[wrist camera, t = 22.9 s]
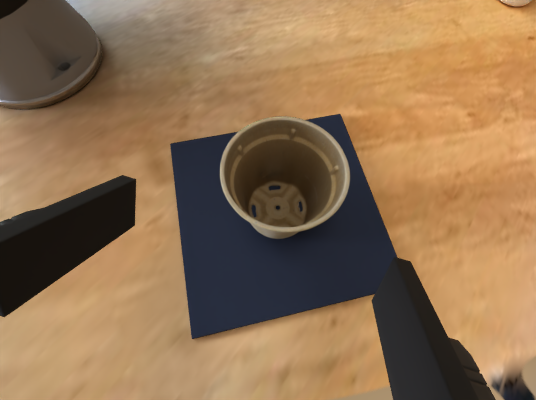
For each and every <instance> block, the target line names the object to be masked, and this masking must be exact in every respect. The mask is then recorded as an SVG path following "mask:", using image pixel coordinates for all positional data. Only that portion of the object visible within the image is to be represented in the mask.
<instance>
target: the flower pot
mask: <svg viewBox="0 0 536 400" xmlns="http://www.w3.org/2000/svg"><path fill="white" fill-rule="evenodd" d="M220 180H221V185H222V189H223V192H224V194H225V196H226V198H227V200H228V202H229V203H230V205H231V206H232V207H233V209H234V210H235V211H236V212H237V213H238V214H239V215H240V216H241V217H243V218H244V219H245V220H247V221H248V222H250V223H251V225H252V226H253V227H254V228H255V229H256V230H257V231H258V232H259V233H261V234H262V235H264V236H266V237H269V238H275V239H283V238H287V237H290V236H293V235H295V234H296V233H298V232H300V231H304V230H308V229H310V228H313V227H315V226H317V225H319V224H321V223H323V222H325V221H326V220H327V219H329V218H330V217H331V216H332V215H333V214H334V213H335V212H336V211H337V210H338V209H339V208H340V206H341V205H342V203H343V201H344V199H345V197H346V195H347V192H348V189H349V183H350V169H349V165H348V161H347V159H346V156H345V154H344V152H343V150H342V148H341V147H340V145H339V144H338V142H337V141H336V140H335V139H334V138H333V137H332V136H331V135H330V134H329V133H328V132H327V131H325V130H324V129H322V128H321V127H319V126H318V125H315V124H313V123H311V122H309V121H306V120H303V119H300V118H295V117H286V116H277V117H271V118H265V119H262V120H258V121H256V122H254V123H252V124H250V125H248V126H246V127H244V128H243V129H242V130H240V131H239V132H238V133H237V134H236V135H235V136H234V137H233V138H232V139H231V140H230V142H229V143H228V145H227V146H226V148H225V150H224V152H223V155H222V159H221V164H220ZM270 186H280V189H277V190H269V187H270ZM299 202H301V204H302V208H303V209H302V211H301V212H300V208H299V207H298V206H299ZM252 205H255V206H256V215H257V216H256V217H254V215H253V213H252ZM276 206H280V209H279V210H277V209H276Z"/></svg>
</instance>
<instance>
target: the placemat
mask: <svg viewBox="0 0 536 400" xmlns="http://www.w3.org/2000/svg"><path fill="white" fill-rule="evenodd" d="M306 121H309V122H311V123H313V124H315V125H318V126H319V127H321V128H322V129H324V130H325V131H327V132H328V133H329V134H330V135H331V136H332V137H333V138H334V139H335V140H336V141H337V142H338V144H339V145H340V147H341V148H342V150H343V152H344V154H345V156H346V159H347V161H348V165H349V169H350V183H349V189H348V192H347V195H346V197H345V199H344V201H343V203H342V205H341V206H340V208H339V209H338V210H337V211H336V212H335V213H334V214H333V215H332V216H331V217H330V218H329V219H327V220H326V221H325V222H323V223H321V224H319V225H317V226H315V227H313V228H310V229H308V230H304V231H300V232H298V233H296V234H295V235H293V236H290V237H287V238H283V239H275V238H269V237H266V236H264V235H262V234H261V233H259V232H258V231H257V230H256V229H255V228H254V227H253V226H252V225H251V223H250V222H248V221H247V220H245V219H244V218H243V217H241V216H240V215H239V214H238V213H237V212H236V211H235V210H234V209H233V207H232V206H231V205H230V203H229V202H228V200H227V198H226V196H225V194H224V192H223V189H222V185H221V180H220V164H221V159H222V155H223V152H224V150H225V148H226V146H227V145H228V143H229V142H230V140H231V139H232V138H233V137H234V136H235V135H236V134H237V133H238V132H234V133H228V134H223V135H217V136H211V137H206V138H200V139H194V140H188V141H183V142H177V143H171V144H170V145H171V154H172V163H173V172H174V181H175V190H176V199H177V208H178V217H179V226H180V235H181V245H182V254H183V263H184V272H185V281H186V290H187V299H188V308H189V317H190V326H191V335H192V339H194V338H198V337H202V336H207V335H211V334H215V333H219V332H223V331H227V330H231V329H235V328H239V327H243V326H247V325H251V324H255V323H259V322H263V321H267V320H271V319H275V318H279V317H283V316H287V315H291V314H295V313H299V312H303V311H307V310H311V309H315V308H320V307H324V306H328V305H332V304H336V303H340V302H344V301H348V300H352V299H356V298H360V297H364V296H368V295H372V294H375V293H376V291H377V289H378V287H379V285H380V283H381V281H382V280H383V278H384V276H385V274H386V272H387V270H388V268H389V266H390V264H391V262H392V260H393V258H394V257H396V258H397V255H396V253H395V250H394V248H393V245H392V243H391V240H390V238H389V235H388V233H387V230H386V228H385V225H384V223H383V220H382V218H381V215H380V213H379V210H378V208H377V205H376V203H375V200H374V197H373V195H372V192H371V190H370V187H369V185H368V182H367V180H366V177H365V175H364V172H363V170H362V167H361V165H360V162H359V160H358V157H357V155H356V152H355V150H354V147H353V145H352V142H351V140H350V137H349V134H348V132H347V129H346V127H345V124H344V122H343V119H342V117H341V114H337V115H331V116H325V117H320V118H314V119H308V120H306ZM277 189H280V186H270V187H269V190H277ZM298 207H299V208H300V212H301V211H302V209H303V208H302V204H301V202H299V206H298ZM276 209H277V210H279V209H280V206H276ZM252 213H253V215H254V217H256V216H257V215H256V206H255V205H252Z"/></svg>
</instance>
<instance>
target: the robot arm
mask: <svg viewBox="0 0 536 400" xmlns="http://www.w3.org/2000/svg"><path fill="white" fill-rule="evenodd" d="M101 60H102V46H101V43H100V40H99V39H98V37H97V35H96V34H95V32H94V30H93V29H92V27H91V26H90V25H89V24H88V22H87V21H86V20H85V19H84V18H83V17H82V16H81V15H80V14H79V13H78V12H77V11H76V10H75V9H74V8H73V7H72V6H71V5H70V4H68V3H67V2H66V1H65V0H0V106H3V107H7V108H13V109H31V108H38V107H43V106H47V105H50V104H53V103H56V102H59V101H61V100H63V99H65V98H67V97H69V96H71V95H72V94H74V93H76V92H77V91H79V90H80V89H81V88H82V87H84V86H85V85H86V84H87V83H88V82H89V81H90V80H91V79H92V77H93V76H94V75H95V73H96V72H97V70H98V68H99V66H100V63H101ZM135 200H136V179H133V178H130V177H127V176H123V175H122V176H119V177H117V178H114V179H112V180H110V181H107V182H105V183H102V184H100V185H98V186H95V187H93V188H90V189H88V190H86V191H83V192H81V193H78V194H76V195H73V196H71V197H69V198H66V199H64V200H61V201H59V202H57V203H54V204H52V205H49V206H47V207H45V208H41V209H36V210H32V211H27V212H24V213H22V214H19V215H17V216H14V217H12V218H11V219H7V220H4V221H2V222H0V316H2V317H6V316H7V315H8V314H10V313H11V312H13V311H14V310H15V309H17V308H18V307H20V306H21V305H23V304H24V303H25V302H27V301H28V300H30V299H31V298H33V297H34V296H35V295H37V294H38V293H40V292H41V291H42V290H44V289H45V288H47V287H48V286H50V285H51V284H52V283H54V282H55V281H57V280H58V279H59V278H61V277H62V276H64V275H65V274H67V273H68V272H69V271H71V270H72V269H74V268H75V267H77V266H78V265H79V264H81V263H82V262H84V261H85V260H86V259H88V258H89V257H91V256H92V255H94V254H95V253H96V252H98V251H99V250H101V249H102V248H104V247H105V246H106V245H108V244H109V243H111V242H112V241H113V240H115V239H116V238H118V237H119V236H121V235H122V234H123V233H125V232H126V231H128V230H129V229H130V228H132V227H133V226H135ZM372 304H373V309H374V313H375V318H376V323H377V327H378V332H379V336H380V341H381V346H382V350H383V355H384V359H385V364H386V368H387V373H388V378H389V382H390V387H391V391H392V396H393V400H495V398H494V396H493V394H492V392H491V390H490V389H489V387H487V383H486V381H485V379H484V378H483V376H482V374H480V373H479V371H480V370H479V368H478V367H477V365H476V363H475V361H474V359H473V358H472V356H471V355H470V353H469V352H468V351H467V350H466V349H465V348H464V347H463V345H462V344H461V343H460V342H459V341H458V340H455V339H451V338H448V336H447V334H446V332H445V330H444V328H443V326H442V324H441V322H440V320H439V318H438V316H437V314H436V312H435V310H434V308H433V306H432V304H431V302H430V300H429V298H428V296H427V294H426V292H425V290H424V288H423V286H422V284H421V282H420V280H419V278H418V276H417V274H416V272H415V269H414V267H413V265H412V263H411V262H410V261H406V260H403V259H400V258H396V257H394V258H393V260H392V262H391V264H390V266H389V268H388V270H387V272H386V274H385V276H384V278H383V280H382V281H381V283H380V285H379V287H378V289H377V291H376V293H375V295H374V297H373V299H372Z"/></svg>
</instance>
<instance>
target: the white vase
mask: <svg viewBox="0 0 536 400" xmlns="http://www.w3.org/2000/svg"><path fill="white" fill-rule="evenodd" d="M500 1H501V2H503V3H505V4H507V5H510V6H517V7H518V6H524V5H526V4H528V3H529V2H531V1H532V0H500Z"/></svg>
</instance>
